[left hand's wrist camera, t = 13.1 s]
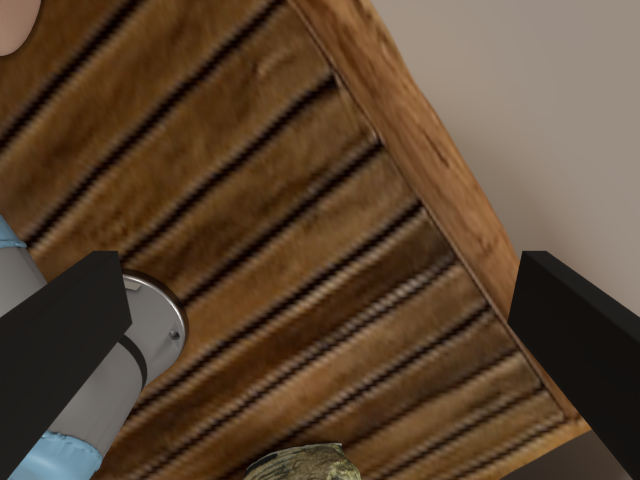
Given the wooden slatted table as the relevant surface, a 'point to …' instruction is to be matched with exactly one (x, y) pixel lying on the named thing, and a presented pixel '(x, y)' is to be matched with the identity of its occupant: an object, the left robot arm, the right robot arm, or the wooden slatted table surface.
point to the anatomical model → (16, 23)
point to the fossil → (304, 464)
